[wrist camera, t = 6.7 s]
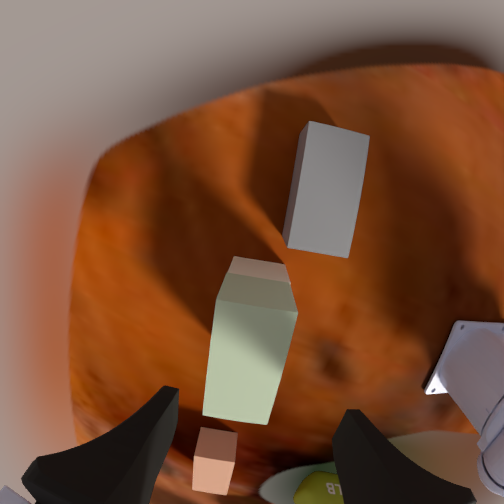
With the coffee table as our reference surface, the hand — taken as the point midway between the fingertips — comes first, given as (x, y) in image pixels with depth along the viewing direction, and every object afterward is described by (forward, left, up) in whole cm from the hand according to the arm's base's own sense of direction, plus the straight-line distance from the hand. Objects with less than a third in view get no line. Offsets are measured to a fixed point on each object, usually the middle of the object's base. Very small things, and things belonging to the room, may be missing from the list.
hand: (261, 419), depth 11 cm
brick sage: (+1, -1, -6) cm, 7 cm away
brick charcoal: (-2, -10, -11) cm, 14 cm away
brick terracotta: (+2, +16, -11) cm, 19 cm away
